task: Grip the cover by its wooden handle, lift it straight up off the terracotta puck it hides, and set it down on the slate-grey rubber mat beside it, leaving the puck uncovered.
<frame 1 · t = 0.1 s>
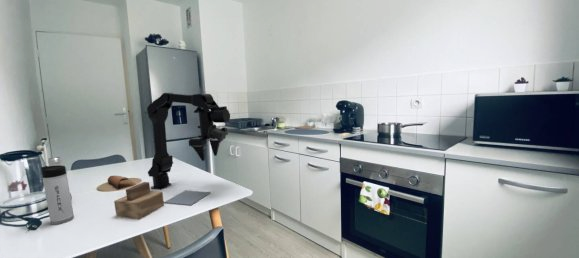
hand: (209, 158, 112), 15 cm above the table, tool pointing down, fingers open, 9 cm apart
travel mug: (62, 221, 91), on the table
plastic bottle: (62, 205, 105), on the table
cover: (141, 210, 96), on the table
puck: (141, 211, 96), on the table
sunglasses case: (122, 185, 130), on the table
mat: (188, 197, 106), on the table
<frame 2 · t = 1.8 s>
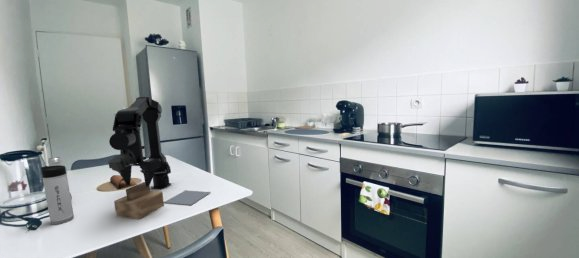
hand: (138, 185, 95), 10 cm above the table, tool pointing down, fingers open, 9 cm apart
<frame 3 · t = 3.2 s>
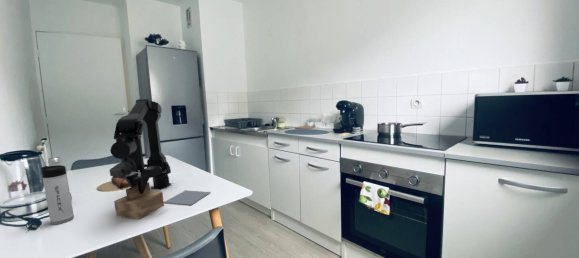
hand: (138, 193, 95), 7 cm above the table, tool pointing down, fingers closed on cover, 2 cm apart
cover: (141, 210, 96), on the table, touching gripper
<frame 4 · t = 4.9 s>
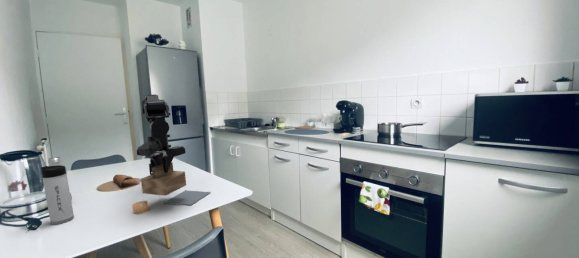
hand: (163, 172, 100), 13 cm above the table, tool pointing down, fingers closed on cover, 2 cm apart
cover: (165, 189, 100), point 6 cm above the table, touching gripper
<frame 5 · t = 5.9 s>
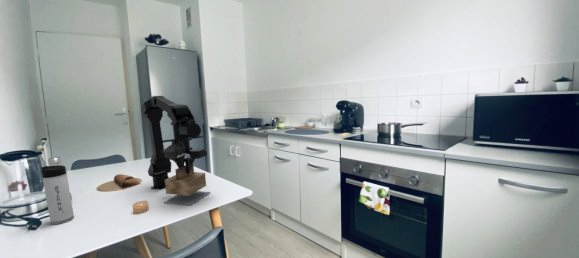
hand: (185, 173, 105), 10 cm above the table, tool pointing down, fingers closed on cover, 2 cm apart
cover: (186, 189, 106), point 4 cm above the table, touching gripper
when the fingers open (9 cm above the table, at t = 6.8 s): cover drops 1 cm, resting on mat.
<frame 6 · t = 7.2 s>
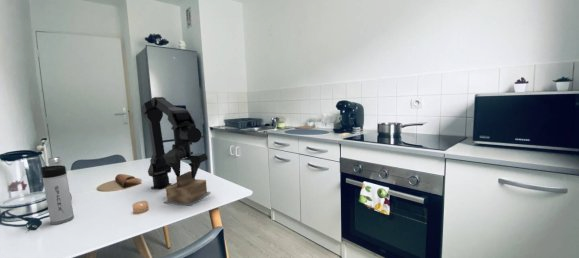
hand: (185, 177, 105), 9 cm above the table, tool pointing down, fingers open, 7 cm apart
cover: (187, 197, 106), resting on mat
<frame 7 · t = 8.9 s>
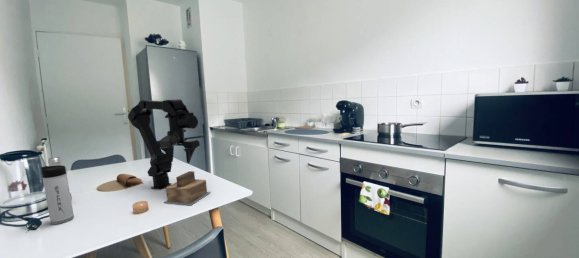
hand: (179, 162, 114), 13 cm above the table, tool pointing down, fingers open, 9 cm apart
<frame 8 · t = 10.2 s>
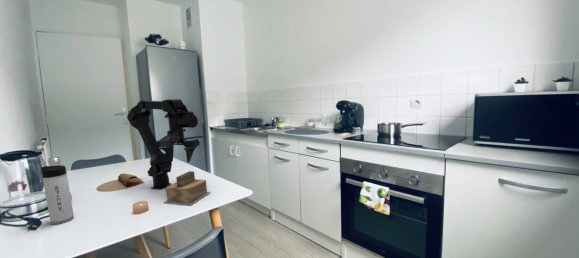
hand: (180, 162, 115), 13 cm above the table, tool pointing down, fingers open, 9 cm apart
at the end: cover inside the target area on the mat (0.1 cm from its centre), point 0.4 cm above the mat's base; cover tilted 0°; the gripper is holding nothing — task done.
